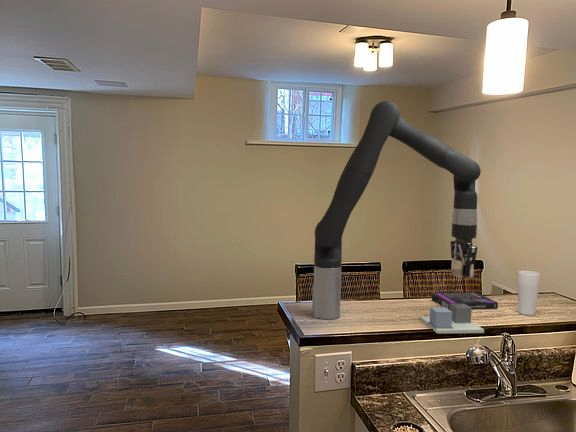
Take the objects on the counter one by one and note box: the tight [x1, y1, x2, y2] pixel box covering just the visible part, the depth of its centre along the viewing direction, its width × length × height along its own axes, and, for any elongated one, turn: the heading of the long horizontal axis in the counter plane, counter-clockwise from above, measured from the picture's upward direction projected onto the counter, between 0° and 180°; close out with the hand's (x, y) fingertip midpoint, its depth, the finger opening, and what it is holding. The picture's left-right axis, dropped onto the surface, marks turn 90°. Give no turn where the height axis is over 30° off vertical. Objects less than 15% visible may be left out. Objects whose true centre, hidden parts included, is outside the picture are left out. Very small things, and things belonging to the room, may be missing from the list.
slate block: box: [429, 306, 452, 328], centre depth 141 cm, size 5×5×5 cm
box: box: [431, 292, 499, 311], centre depth 170 cm, size 14×4×20 cm
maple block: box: [450, 259, 475, 279], centre depth 145 cm, size 5×5×5 cm
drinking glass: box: [517, 270, 541, 316], centre depth 158 cm, size 7×7×15 cm
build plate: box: [419, 304, 485, 334], centre depth 144 cm, size 15×14×6 cm
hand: (461, 274), depth 145 cm, fingers closed on maple block, 5 cm apart
